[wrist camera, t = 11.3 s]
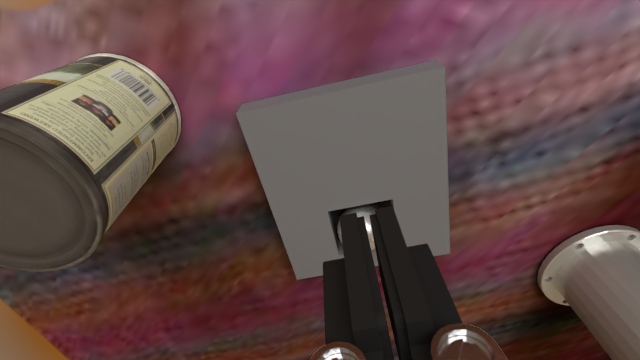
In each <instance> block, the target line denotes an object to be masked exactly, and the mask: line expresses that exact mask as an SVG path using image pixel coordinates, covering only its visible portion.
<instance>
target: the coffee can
mask: <svg viewBox="0 0 640 360" xmlns="http://www.w3.org/2000/svg"><path fill="white" fill-rule="evenodd" d="M180 132H181V115H180V110H179V107H178V104H177V102H176V100H175V98H174V96H173V94H172V93H171V91H170V89H169V88H168V87H167V86H166V84H165V83H164V82H163V81H162V80H161V79H160V78H159V77H158V76H157V75H156V74H155V73H153V72H152V71H151V70H150V69H148V68H147V67H145V66H144V65H142V64H140V63H138V62H136V61H134V60H132V59H129V58H127V57H124V56H119V55H115V54H93V55H89V56H86V57H83V58H81V59H79V60H77V61H75V62H73V63H70V64H68V65H65V66H63V67H60V68H57V69H55V70H52V71H49V72H46V73H44V74H41V75H39V76H36V77H33V78H31V79H28V80H25V81H23V82H20V83H18V84H15V85H12V86H9V87H7V88H3V89H1V90H0V266H2V267H6V268H11V269H16V270H24V271H39V272H41V271H54V270H61V269H64V268H68V267H71V266H73V265H76V264H78V263H80V262H82V261H83V260H85V259H86V258H87V257H88V256H90V255H91V254H92V253H93V251H94V250H95V249H96V248H97V246H98V245H99V243H100V242H101V240H102V238H103V236H104V234H105V232H106V231H107V230H108V229H109V227H110V226H111V225H112V223H113V222H114V221H115V220H116V218H117V217H118V216H119V215H120V213H121V212H122V211H123V210H124V208H125V207H126V206H127V204H128V203H129V202H130V201H131V199H132V198H133V197H134V196H135V194H136V193H137V192H138V191H139V189H140V188H141V187H142V185H143V184H144V183H145V182H146V180H147V179H148V178H149V177H150V175H151V174H152V173H153V172H154V170H155V169H156V168H157V167H158V165H159V164H160V163H161V162H162V160H163V159H164V158H165V156H166V155H167V154H168V153H169V152H170V151H171V150H172V149H173V148H174V147H175V145H176V143H177V141H178V139H179V136H180Z"/></svg>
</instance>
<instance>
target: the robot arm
mask: <svg viewBox="0 0 640 360" xmlns="http://www.w3.org/2000/svg"><path fill="white" fill-rule="evenodd" d="M375 213H376V214H372V215H369V217H370V222H371V228H372V233H373V239H374V244H375V250H376V255H377V260H378V266H379V271H380V277H381V282H382V286H383V291H384V295H385V299H386V304H387V308H388V313H389V317H390V321H391V326H392V330H393V334H394V339H395V343H396V348H397V352H398V356H399V360H508V359H507V358H506V356H505V355H504V353H503V352H502V350H501V349H500V347H499V346H498V344H497V343H496V342H495V341H494V340H493V339H492V337H491V336H490V335H489V334H487V333H486V332H484V331H483V330H481V329H480V328H477V327H475V326H472V325H470V324H463V323H462V321H461V319H460V316H459V314H458V312H457V310H456V307H455V305H454V303H453V300H452V298H451V296H450V293H449V291H448V289H447V286H446V284H445V282H444V280H443V277H442V275H441V273H440V270H439V268H438V266H437V263H436V261H435V259H434V256H433V254H432V252H431V250H430V248H429V246H428V244H427V243H426V244H421V245H415V246H409V247H407V245H406V243H405V240H404V237H403V234H402V231H401V228H400V226H399V223H398V220H397V217H396V214H395V211H394V208H393V206H389V207H384V208H379V209H375ZM339 218H340V227H341V235H342V244H343V253H344V258H342V259H336V260H330V261H325V262H323V288H324V314H325V341H326V345H325V346H322V347H321V348H320V349H319V350H318V351H316V352H315V353H314V355H313V356H312V358H311V359H310V360H394V358H393V352H392V347H391V342H390V336H389V331H388V326H387V321H386V316H385V311H384V307H383V302H382V298H381V293H380V288H379V284H378V279H377V274H376V270H375V265H374V261H373V256H372V251H371V247H370V242H369V238H368V233H367V228H366V224H365V219H364V216H361V217H357V214H356V213H352V214H347V215H342V216H339ZM537 279H538V285H539V287H540V289H541V290H542V292H543V293H544V294H545V296H546V297H547V298H549V299H550V300H551V301H553V302H555V303H558V304H562V305H569V306H571V308H572V309H573V310H574V312H575V313H576V314H577V315H578V317H579V318H580V319H581V320H582V322H583V323H584V324H585V326H586V327H587V328H588V329H589V331H590V332H591V333H592V335H593V336H594V337H595V338H596V340H597V341H598V342H599V343H600V345H601V346H602V347H603V349H604V350H605V351H606V352H607V354H608V355H609V356H610V358H611V359H612V360H640V231H639V230H637V229H635V228H632V227H629V226H622V225H607V226H602V227H596V228H593V229H589V230H586V231H583V232H581V233H579V234H576V235H574V236H572V237H570V238H569V239H567V240H565V241H564V242H562V243H561V244H560V245H558V246H557V247H556V248H554V249H553V250H552V251H551V252H550V253H549V254H548V255H547V257H546V258H545V259H544V261H543V262H542V264H541V266H540V268H539V271H538V276H537Z"/></svg>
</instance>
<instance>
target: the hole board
mask: <svg viewBox="0 0 640 360" xmlns="http://www.w3.org/2000/svg"><path fill="white" fill-rule="evenodd" d="M236 115H237V118H238V121H239V123H240V126H241V129H242V131H243V134H244V137H245V140H246V142H247V145H248V148H249V150H250V153H251V156H252V159H253V161H254V164H255V167H256V169H257V172H258V175H259V178H260V180H261V183H262V186H263V188H264V191H265V194H266V197H267V199H268V202H269V205H270V207H271V210H272V213H273V216H274V218H275V221H276V224H277V226H278V229H279V232H280V235H281V237H282V240H283V243H284V245H285V248H286V251H287V254H288V256H289V259H290V262H291V264H292V267H293V270H294V273H295V275H296V278H297V280H299V279H305V278H310V277H316V276H322V275H323V262H325V261H330V260H336V259H342V258H344V253H343V244H342V243H341V241H340V240H338V239H337V235H336V231H335V228H334V224H333V220H332V216H331V212H330V211H334V210H339V209H344V208H349V207H355V206H360V205H365V204H370V203H376V202H381V201H386V200H390V205H391V206H393V208H394V211H395V214H396V217H397V220H398V223H399V226H400V228H401V231H402V234H403V237H404V240H405V243H406V245H407V247H409V246H415V245H421V244H426V243H427V244H428V246H429V248H430V250H431V252H432V254H433V256H438V255H443V254H449V253H450V228H449V192H448V156H447V120H446V84H445V67H444V66H443V65H441V64H440V63H439V62H437V61H436V60H433V61H429V62H424V63H420V64H415V65H411V66H407V67H402V68H398V69H393V70H389V71H385V72H380V73H376V74H371V75H367V76H363V77H358V78H354V79H349V80H345V81H341V82H336V83H332V84H327V85H323V86H319V87H314V88H310V89H306V90H301V91H297V92H292V93H288V94H284V95H279V96H275V97H270V98H266V99H262V100H257V101H253V102H248V103H244V104H241V106H240V108H239V110H238V111H237V113H236ZM372 256H373V261H374V265H375V266H378V260H377V255H376V250H375V251H374V252H372Z"/></svg>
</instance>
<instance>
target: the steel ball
mask: <svg viewBox="0 0 640 360" xmlns="http://www.w3.org/2000/svg"><path fill="white" fill-rule="evenodd" d="M352 213H356V214H357V217H361V216H364V219H365V224H366V228H367V233H368V238H369V242H370V247H371V251H372V252H374V251H375V244H374V239H373V233H372V228H371V222H370V217H369V215H372V214H376V213H375V208H374V207H372V206H369V205H360V206H355V207H350V208H348V209H347V210H345V212H344V213H343V214H342V215H347V214H352ZM342 215H341V216H342ZM337 232H338V236H339V239H340V241H341V243H342V235H341V227H340V219H339V221H338V226H337Z"/></svg>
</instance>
